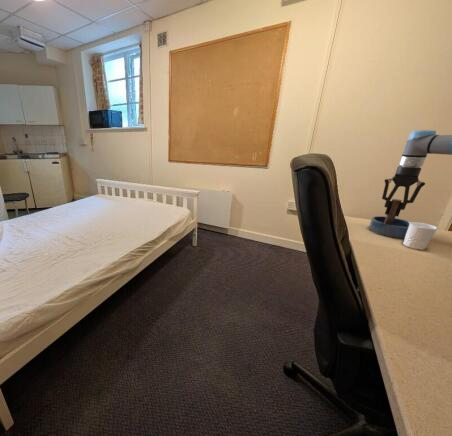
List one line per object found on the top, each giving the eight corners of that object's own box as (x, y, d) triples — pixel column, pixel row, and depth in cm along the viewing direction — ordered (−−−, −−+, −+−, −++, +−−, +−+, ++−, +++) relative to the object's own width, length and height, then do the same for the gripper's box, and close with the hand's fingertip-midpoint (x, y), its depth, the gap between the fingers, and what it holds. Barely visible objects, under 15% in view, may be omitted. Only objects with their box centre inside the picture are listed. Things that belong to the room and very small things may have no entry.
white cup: (426, 252, 92) (437, 230, 89) (400, 245, 98) (408, 225, 94) (427, 246, 97) (437, 225, 93) (402, 240, 103) (410, 220, 99)
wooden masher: (392, 228, 111) (404, 199, 106) (393, 231, 108) (404, 201, 102) (379, 226, 114) (389, 197, 109) (379, 228, 111) (389, 199, 106)
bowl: (409, 232, 112) (414, 221, 110) (411, 242, 101) (417, 230, 99) (369, 224, 122) (372, 214, 120) (367, 232, 111) (371, 221, 109)
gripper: (385, 165, 103) (369, 212, 111) (438, 168, 92) (416, 220, 101) (385, 164, 108) (369, 209, 116) (435, 167, 97) (414, 216, 106)
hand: (391, 214), depth 108 cm, fingers closed on wooden masher, 3 cm apart
